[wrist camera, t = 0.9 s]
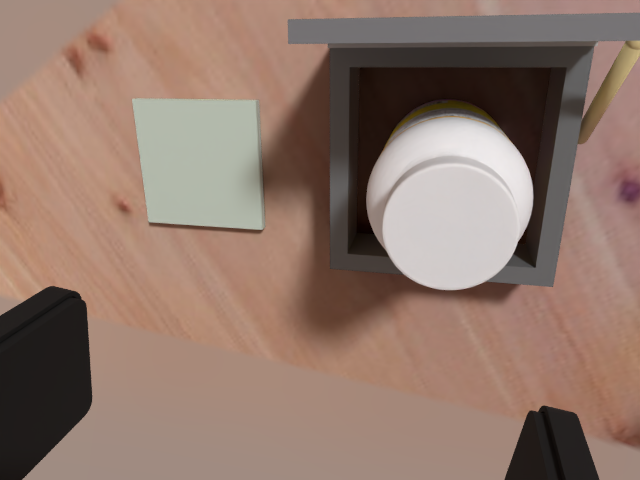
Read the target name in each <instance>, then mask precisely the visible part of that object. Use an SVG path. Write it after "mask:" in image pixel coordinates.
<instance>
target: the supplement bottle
mask: <svg viewBox="0 0 640 480" xmlns="http://www.w3.org/2000/svg"><path fill="white" fill-rule="evenodd" d="M366 205H367V213H368V217H369V221H370V224H371V227H372V229H373V232H374V234H375V236H376V237H377V239H378V241H379V242H380V244H381V245H382V246H383V248H384V249H385V250H386V251H387V253H388V255H389V257H390V259H391V260H392V262H393V263H394V264H395V266H396V267H397V268H398V269H399V270H400V271H401V272H402V273H403V274H404V275H406V276H407V277H408V278H410V279H411V280H413V281H415V282H416V283H418V284H421V285H423V286H426V287H430V288H434V289H439V290H461V289H466V288H470V287H474V286H476V285H479V284H481V283H483V282H485V281H487V280H489V279H490V278H492V277H493V276H495V275H496V274H497V273H498V272H499V271H500V270H501V269H503V268H504V266H505V265H506V264H507V263H508V261H509V260H510V258H511V257H512V255H513V253H514V251H515V249H516V246H517V243H518V241H519V240H520V238H521V237H522V235H523V233H524V231H525V229H526V227H527V225H528V222H529V219H530V216H531V212H532V207H533V185H532V180H531V176H530V172H529V169H528V167H527V165H526V163H525V161H524V159H523V157H522V155H521V154H520V152H519V151H518V150H517V148H516V147H515V146H514V144H513V143H512V142H511V141H510V140H509V138H508V137H507V136H506V135H505V133H504V132H503V131H502V129H501V128H500V127H499V125H498V124H497V123H496V122H495V121H494V119H493V118H492V117H491V116H490V115H489V114H488V113H486V112H485V111H484V110H482V109H481V108H479V107H477V106H475V105H473V104H471V103H468V102H465V101H461V100H455V99H441V100H435V101H431V102H428V103H425V104H423V105H421V106H419V107H417V108H415V109H414V110H412V111H411V112H409V113H408V114H407V115H406V116H405V117H404V118H403V119H402V120H401V121H400V122H399V123H398V124H397V126H396V127H395V128H394V130H393V132H392V134H391V136H390V137H389V139H388V141H387V143H386V145H385V147H384V149H383V151H382V152H381V154H380V156H379V158H378V160H377V162H376V164H375V166H374V168H373V170H372V173H371V175H370V178H369V182H368V187H367V196H366Z"/></svg>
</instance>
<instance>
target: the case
mask: <svg viewBox="0 0 640 480" xmlns="http://www.w3.org/2000/svg"><path fill="white" fill-rule="evenodd" d="M598 41H626V42H625V44H624V45H623V47H622V49H621V51H620V53H619V54H618V56H617V58H616V60H615V62H614V63H613V65H612V67H611V69H610V71H609V72H608V74H607V76H606V78H605V80H604V81H603V83H602V85H601V87H600V89H599V90H598V92H597V94H596V96H595V98H594V99H593V101H592V103H591V105H590V107H589V108H588V110H587V112H586V114H585V116H584V117H583V119H582V115H583V109H584V103H585V97H586V91H587V86H588V80H589V74H590V68H591V62H592V57H593V51H594V46H598ZM288 44H328V48H330V269H340V270H352V271H364V272H376V273H389V274H401V275H404V274H403V273H402V272H401V271H400V270H399V269H398V268H397V267H396V266H395V264H394V263H393V262H392V260H391V259H390V257H389V255H388V253H387V251H386V250H385V249H384V248H383V246H382V245H381V244H380V242H379V241H378V239H377V237H376V236H375V234H365V233H357V187H358V132H359V78H360V67H551V72H550V79H549V86H548V92H547V99H546V106H545V113H544V120H543V127H542V134H541V141H540V148H539V154H538V161H537V168H536V175H535V182H534V189H533V207H532V212H531V216H530V219H529V223H528V230H527V237H526V244H517V246H516V249H515V251H514V253H513V255H512V257H511V258H510V260H509V261H508V263H507V264H506V265H505V266H504V268H503V269H501V270H500V271H499V272H498V273H497V274H496V275H495V276H493V277H492V278H490V279H489V280H487V281H486V282H498V283H511V284H523V285H535V286H547V287H553V284H554V278H555V272H556V266H557V261H558V255H559V249H560V243H561V237H562V231H563V226H564V220H565V214H566V208H567V202H568V196H569V191H570V185H571V179H572V173H573V167H574V161H575V156H576V150H577V144H583V143H585V142H586V141H587V140H588V138H589V137H590V135H591V134H592V132H593V130H594V129H595V127H596V125H597V124H598V122H599V121H600V119H601V117H602V116H603V114H604V112H605V111H606V109H607V108H608V106H609V104H610V103H611V101H612V99H613V98H614V96H615V95H616V93H617V91H618V90H619V88H620V87H621V85H622V83H623V82H624V80H625V78H626V77H627V75H628V74H629V72H630V70H631V69H632V67H633V65H634V64H635V62H636V61H637V59H638V57H639V56H640V13H603V14H551V15H498V16H446V17H393V18H341V19H288Z"/></svg>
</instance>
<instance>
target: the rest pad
mask: <svg viewBox="0 0 640 480" xmlns="http://www.w3.org/2000/svg"><path fill="white" fill-rule="evenodd" d="M132 102H133V110H134V117H135V125H136V132H137V139H138V147H139V154H140V162H141V169H142V176H143V184H144V191H145V198H146V206H147V213H148V221H149V222H154V223H168V224H183V225H198V226H212V227H227V228H242V229H256V230H263V229H264V228H265V212H264V192H263V171H262V151H261V131H260V111H259V100H224V99H153V98H136V99H132Z"/></svg>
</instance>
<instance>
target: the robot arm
mask: <svg viewBox="0 0 640 480" xmlns="http://www.w3.org/2000/svg"><path fill="white" fill-rule="evenodd" d="M89 355H90V354H89V338H88V321H87V307H86V303H85V301H83V300H82V299H81V296H80V294H79V293H77V292H76V291H72V290H68V289H63V288H59V287H55V286H50V287H47V288H45V289H44V290H42V291H40V292H39V293H37V294H35V295H34V296H32V297H31V298H29V299H27V300H26V301H24V302H22V303H21V304H19V305H17V306H16V307H14V308H12V309H11V310H9V311H7V312H6V313H4V314H2V315H1V316H0V480H22V479H23V478H24V477H25V476H26V475H27V474H28V473H29V472H30V471H31V470H32V469H33V468H34V467H35V466H36V465H37V464H38V463H39V462H40V461H41V460H42V459H43V458H44V457H45V456H46V455H47V454H48V453H49V452H50V451H51V449H53V448H54V447H55V445H57V444H58V443H59V442H60V441H61V440H62V439H63V438H64V436H66V434H67V433H68V432H69V431H70V430H71V429H72V428H73V427H74V426H75V425H76V424H77V423H78V422H79V421H80V420H81V419H82V418H83V417H84V416H85V415H86V414H87V412H88V411H89V409H90V406H91V403H92V387H91V371H90V356H89ZM505 480H599V477H598V474H597V471H596V468H595V465H594V462H593V460H592V456H591V454H590V451H589V448H588V445H587V442H586V439H585V436H584V433H583V430H582V427H581V424H580V421H579V418H578V416H577V414H575V413H573V412H569V411H565V410H561V409H557V408H553V407H548V406H542V407H541V408H540V409H539V411H538V412H536V411H532V410H531V411H529V413H528V414H527V417H526V420H525V422H524V425H523V429H522V431H521V434H520V437H519V440H518V442H517V446H516V448H515V451H514V454H513V457H512V460H511V463H510V465H509V468H508V471H507V474H506V477H505Z"/></svg>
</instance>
